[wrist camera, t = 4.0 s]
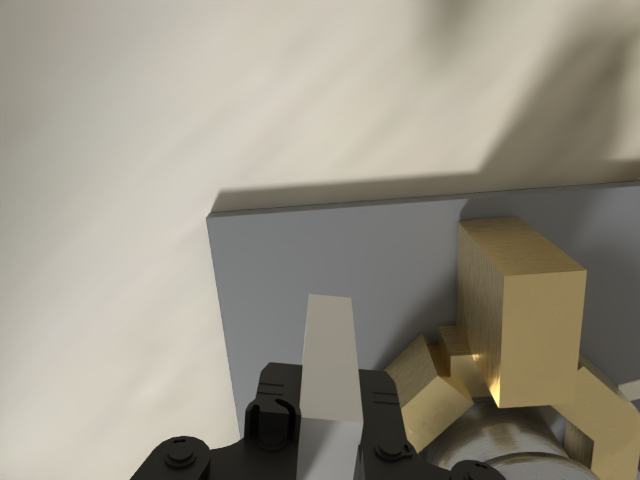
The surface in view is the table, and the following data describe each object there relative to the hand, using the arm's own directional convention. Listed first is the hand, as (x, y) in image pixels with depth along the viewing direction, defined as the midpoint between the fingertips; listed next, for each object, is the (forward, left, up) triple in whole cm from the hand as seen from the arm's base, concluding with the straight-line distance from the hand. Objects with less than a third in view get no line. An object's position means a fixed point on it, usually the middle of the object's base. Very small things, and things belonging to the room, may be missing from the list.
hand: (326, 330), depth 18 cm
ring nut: (-9, -8, -8) cm, 15 cm away
